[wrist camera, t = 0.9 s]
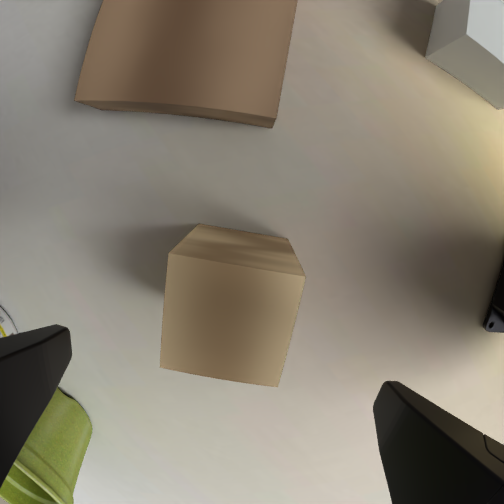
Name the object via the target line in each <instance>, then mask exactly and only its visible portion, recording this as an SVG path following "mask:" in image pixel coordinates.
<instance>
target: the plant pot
mask: <svg viewBox="0 0 504 504" xmlns="http://www.w3.org/2000/svg"><path fill="white" fill-rule="evenodd" d="M91 434H92V425H91V422H90V419H89V417H88V415H87V414H86V412H85V411H84V410H83V408H82V407H81V406H80V405H79V404H78V403H77V402H76V401H75V400H74V399H71V398H69V397H67V396H66V395H64V394H63V393H62V392H61V391H60V390H59V389H58V388H57V389H56V391H55V393H54V395H53V397H52V399H51V400H50V402H49V404H48V405H47V407H46V409H45V410H44V412H43V414H42V415H41V417H40V419H39V420H38V422H37V424H36V425H35V427H34V429H33V430H32V432H31V434H30V435H29V437H28V439H27V441H26V442H25V444H24V446H23V448H22V449H21V451H20V453H19V455H18V456H17V458H16V460H15V462H14V464H13V466H12V467H11V469H10V471H9V473H8V475H7V477H6V479H5V481H4V482H3V484H2V486H1V488H0V497H1V498H2V499H4V500H5V501H6V502H8V503H9V504H73V502H74V501H73V492H74V488H75V485H76V481H77V477H78V474H79V471H80V467H81V465H82V461H83V458H84V455H85V452H86V450H87V447H88V444H89V441H90V438H91Z"/></svg>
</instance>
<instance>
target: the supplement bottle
mask: <svg viewBox="0 0 504 504" xmlns="http://www.w3.org/2000/svg"><path fill="white" fill-rule="evenodd" d="M14 334H18V333H17V330H16V328H15V326H14V324H13V322H12V321H11V319H10V318H9V316H8V315H7V314H6V312H5V311H4V310H3V309H2V308H1V307H0V338H2V337H6V336H10V335H14Z"/></svg>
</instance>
